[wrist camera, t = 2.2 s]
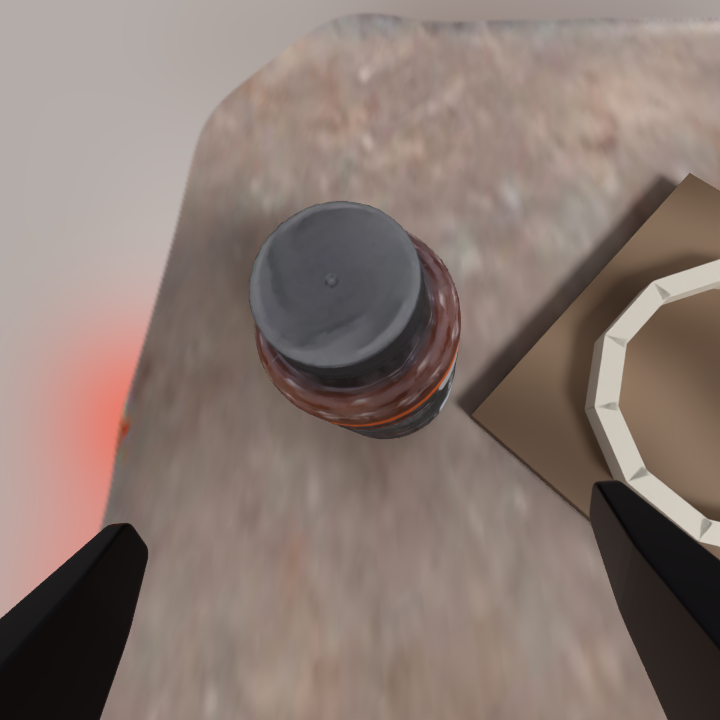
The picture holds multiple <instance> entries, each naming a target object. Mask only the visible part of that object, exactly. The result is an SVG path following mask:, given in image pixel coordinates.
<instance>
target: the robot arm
mask: <svg viewBox="0 0 720 720" xmlns="http://www.w3.org/2000/svg"><path fill="white" fill-rule="evenodd" d="M589 516H590V521H591V525H592V528H593V531H594V535H595V538H596V541H597V544H598V547H599V550H600V553H601V556H602V559H603V562H604V565H605V569H606V572H607V575H608V578H609V581H610V584H611V587H612V590H613V593H614V596H615V599H616V602H617V605H618V608H619V611H620V613H621V615H622V618H623V620H624V623H625V625H626V627H627V630H628V632H629V634H630V636H631V638H632V641H633V643H634V645H635V647H636V650H637V652H638V654H639V656H640V659H641V661H642V663H643V665H644V668H645V670H646V672H647V674H648V677H649V679H650V681H651V683H652V686H653V688H654V690H655V692H656V694H657V697H658V699H659V701H660V703H661V706H662V708H663V710H664V712H665V715H666V717H667V719H668V720H720V559H718V558H717V557H716V556H714V555H713V554H712V553H711V552H709V551H708V550H707V549H706V548H704V547H703V546H702V545H701V544H699V543H698V542H697V541H696V540H694V539H693V538H692V537H691V536H689V535H688V534H687V533H686V532H684V531H683V530H682V529H681V528H679V527H678V526H677V525H675V524H674V523H673V522H672V521H670V520H669V519H668V518H667V517H665V516H664V515H663V514H662V513H660V512H659V511H658V510H657V509H655V508H654V507H653V506H652V505H650V504H649V503H648V502H647V501H645V500H644V499H643V498H641V497H640V496H639V495H638V494H636V493H635V492H634V491H633V490H631V489H630V488H629V487H628V486H626V485H625V484H624V483H622V482H621V481H618V480H606V481H597V482H595V483H594V484H593V487H592V494H591V502H590V510H589ZM147 560H148V549H147V546H146V544H145V543H144V541H143V540H142V538H141V537H140V536H139V534H138V533H137V531H136V530H135V528H134V527H133V526H132V525H131V524H129V523H119V524H111V525H108V526H107V527H105V528H104V529H103V530H102V531H101V532H99V533H98V534H97V535H96V536H95V537H94V538H93V539H92V540H90V541H89V542H88V543H87V544H86V545H85V546H83V547H82V548H81V549H80V550H79V551H78V552H76V553H75V554H74V555H73V556H72V557H71V558H70V559H68V560H67V561H66V562H65V563H64V564H63V565H62V566H60V567H59V568H58V569H57V570H56V571H55V572H54V573H52V574H51V575H50V576H49V577H48V578H47V579H46V580H44V581H43V582H42V583H41V584H40V585H39V586H37V587H36V588H35V589H34V590H33V591H32V592H31V593H29V594H28V595H27V596H26V597H25V598H24V599H23V600H21V601H20V602H19V603H18V604H17V605H16V606H15V607H13V608H12V609H11V610H10V611H9V612H8V613H6V614H5V616H3V617H2V618H1V619H0V720H100V717H101V714H102V712H103V709H104V706H105V703H106V700H107V697H108V694H109V691H110V689H111V686H112V683H113V680H114V677H115V674H116V671H117V668H118V665H119V663H120V660H121V657H122V654H123V651H124V648H125V645H126V642H127V639H128V636H129V632H130V628H131V625H132V621H133V617H134V613H135V609H136V605H137V601H138V597H139V593H140V589H141V585H142V581H143V576H144V572H145V568H146V564H147Z"/></svg>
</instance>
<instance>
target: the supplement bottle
mask: <svg viewBox="0 0 720 720" xmlns="http://www.w3.org/2000/svg"><path fill="white" fill-rule="evenodd" d="M249 302H250V307H251V312H252V315H253V317H254V320H255V325H254V326H255V338H256V345H257V349H258V353H259V356H260V360H261V362H262V364H263V367H264V369H265V371H266V373H267V374H268V376H269V378H270V379H271V381H272V382H273V384H274V385H275V386H276V387H277V389H278V390H279V391H280V392H281V393H282V394H283V395H284V396H285V397H286V398H287V399H288V400H289V401H290V402H291V403H293V404H294V405H295V406H297V407H298V408H300V409H302V410H303V411H305V412H307V413H309V414H312V415H314V416H316V417H319V418H321V419H324V420H326V421H329V422H331V423H333V424H336V425H339V426H340V427H344V428H346V429H349V430H351V431H354V432H357V433H359V434H362V435H364V436H367V437H371V438H376V439H392V438H400V437H404V436H407V435H410V434H412V433H414V432H416V431H418V430H420V429H422V428H424V427H425V426H426V425H428V424H429V423H430V422H431V421H432V420H433V419H434V418H435V417H436V416H437V415H438V414H439V412H440V411H441V409H442V408H443V406H444V405H445V403H446V401H447V399H448V397H449V394H450V391H451V388H452V383H453V378H454V373H455V365H456V360H457V354H458V346H459V340H460V330H461V314H460V305H459V298H458V295H457V291H456V288H455V284H454V282H453V281H452V278H451V276H450V274H449V272H448V269H447V268H446V266H445V265H444V264H443V261H442V260H441V259H440V258H439V257H438V256H437V255H436V254H435V253H434V252H433V251H432V250H431V249H430V248H429V247H428V246H427V245H426V244H425V243H423V242H422V241H421V240H420V239H418V238H417V237H415V236H414V235H412V234H410V233H408V232H407V231H405V230H404V229H403V228H402V227H401V226H400V225H399V224H398V223H397V222H396V221H395V220H394V219H392V218H391V217H390V216H388V215H387V214H385V213H384V212H382V211H381V210H379V209H376V208H374V207H371V206H369V205H365V204H360V203H354V202H347V201H336V202H327V203H323V204H317V205H313V206H311V207H309V208H306V209H304V210H302V211H300V212H299V213H297V214H295V215H294V216H292V217H290V218H289V219H288V220H287V221H285V222H283V223H281V224H280V225H279V226H278V227H277V229H276V230H275V231H274V232H273V233H272V234H271V235H270V236H269V237H268V238H267V240H266V241H265V242H264V244H263V245H262V246H261V249H260V251H259V253H258V255H257V257H256V259H255V261H254V264H253V268H252V272H251V275H250V280H249Z"/></svg>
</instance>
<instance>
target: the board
mask: <svg viewBox="0 0 720 720" xmlns="http://www.w3.org/2000/svg"><path fill="white" fill-rule="evenodd" d="M719 259H720V191H719V190H717V189H716V188H714V187H712V186H711V185H709V184H707V183H706V182H704V181H702V180H701V179H699V178H697V177H696V176H694V175H692V174H691V173H689V174H688V175H687V177H686V178H685V179H684V180H683V181H682V182H681V183H680V184H679V185H678V187H677V188H676V189H675V190H674V191H673V192H672V193H671V194H670V195H669V196H668V198H667V199H666V200H665V201H664V202H663V203H662V204H661V205H660V206H659V208H658V209H657V210H656V211H655V212H654V213H653V214H652V215H651V216H650V218H649V219H648V220H647V221H646V222H645V223H644V224H643V225H642V226H641V228H640V229H639V230H638V231H637V232H636V233H635V234H634V235H633V236H632V238H631V239H630V240H629V241H628V242H627V243H626V244H625V245H624V246H623V248H622V249H621V250H620V251H619V252H618V253H617V254H616V255H615V256H614V257H613V259H612V260H611V261H610V262H609V263H608V264H607V265H606V266H605V267H604V269H603V270H602V271H601V272H600V273H599V274H598V275H597V276H596V277H595V279H594V280H593V281H592V282H591V283H590V284H589V285H588V286H587V287H586V289H585V290H584V291H583V292H582V293H581V294H580V295H579V296H578V297H577V299H576V300H575V301H574V302H573V303H572V304H571V305H570V306H569V307H568V309H567V310H566V311H565V312H564V313H563V314H562V315H561V316H560V317H559V318H558V320H557V321H556V322H555V323H554V324H553V325H552V326H551V327H550V328H549V330H548V331H547V332H546V333H545V334H544V335H543V336H542V337H541V338H540V340H539V341H538V342H537V343H536V344H535V345H534V346H533V347H532V348H531V350H530V351H529V352H528V353H527V354H526V355H525V356H524V357H523V358H522V360H521V361H520V362H519V363H518V364H517V365H516V366H515V367H514V368H513V370H512V371H511V372H510V373H509V374H508V375H507V376H506V377H505V378H504V379H503V381H502V382H501V383H500V384H499V385H498V386H497V387H496V388H495V389H494V391H493V392H492V393H491V394H490V395H489V396H488V397H487V398H486V399H485V401H484V402H483V403H482V404H481V405H480V406H479V407H478V408H477V409H476V411H475V412H474V413H473V414H472V415H471V416H470V418H471V419H473V420H474V421H475V422H476V423H477V424H478V425H479V426H481V427H482V428H483V429H484V430H485V431H486V432H487V433H489V434H490V435H491V436H492V437H493V438H494V439H496V440H497V441H498V442H499V443H500V444H501V445H502V446H504V447H505V448H506V449H507V450H508V451H509V452H510V453H512V454H513V455H514V456H515V457H516V458H517V459H519V460H520V461H521V462H522V463H523V464H524V465H525V466H527V467H528V468H529V469H530V470H531V471H532V472H533V473H535V474H536V475H537V476H538V477H539V478H540V479H541V480H543V481H544V482H545V483H546V484H547V485H548V486H550V487H551V488H552V489H553V490H554V491H555V492H556V493H558V494H559V495H560V496H561V497H562V498H563V499H564V500H566V501H567V502H568V503H569V504H570V505H571V506H572V507H574V508H575V509H576V510H577V511H578V512H579V513H581V514H582V515H583V516H584V517H585V518H586V519H587V520H589V521H590V516H589V510H590V502H591V494H592V487H593V484H594V483H595V482H597V481H606V480H614V479H613V476H612V474H611V471H610V469H609V467H608V464H607V462H606V460H605V457H604V455H603V453H602V450H601V448H600V445H599V443H598V441H597V438H596V436H595V434H594V431H593V429H592V427H591V424H590V422H589V419H588V417H587V415H586V412H585V404H586V397H587V390H588V384H589V377H590V370H591V364H592V357H593V350H594V343H595V341H596V340H597V339H598V338H599V337H600V336H601V335H602V334H603V333H604V331H605V330H606V329H607V328H608V327H609V326H610V325H611V324H612V322H613V321H614V320H615V319H616V318H617V317H618V316H619V315H620V313H621V312H622V311H623V310H624V309H625V308H626V307H627V306H628V305H629V303H630V302H631V301H632V300H633V299H634V298H635V297H636V296H637V294H638V293H639V292H640V291H642V290H643V289H644V288H645V287H646V286H648V285H649V284H650V283H651V282H653V281H655V280H658V279H661V278H664V277H667V276H670V275H673V274H676V273H679V272H682V271H685V270H689V269H692V268H695V267H698V266H701V265H704V264H707V263H710V262H713V261H716V260H719ZM618 406H619V409H620V411H621V413H622V415H623V418H624V420H625V422H626V425H627V427H628V429H629V431H630V434H631V436H632V438H633V440H634V443H635V445H636V447H637V449H638V452H639V454H640V456H641V458H642V461H643V463H644V465H645V467H646V470H647V471H649V472H650V473H651V474H652V475H654V476H655V477H656V478H657V479H659V480H660V481H661V482H662V483H664V484H665V485H666V486H667V487H669V488H670V489H671V490H672V491H673V492H675V493H676V494H677V495H678V496H680V497H681V498H682V499H683V500H685V501H686V502H687V503H688V504H690V505H691V506H692V507H693V508H695V509H696V510H697V511H698V512H700V513H701V514H702V515H703V516H705V517H706V518H707V519H709V520H713V521H717V522H720V289H714V288H713V289H710V290H707V291H704V292H701V293H698V294H695V295H692V296H688V297H685V298H682V299H679V300H676V301H673V302H670V303H667V304H664V305H661V306H660V307H659V308H658V309H657V310H656V312H655V313H654V314H653V315H652V316H651V317H650V318H649V319H648V321H647V322H646V323H645V324H644V325H643V326H642V327H641V328H640V329H639V331H638V332H637V333H636V334H635V335H634V336H633V337H632V338H631V340H630V341H629V342H628V343H627V345H626V352H625V360H624V367H623V374H622V382H621V389H620V396H619V404H618ZM590 522H591V521H590ZM697 542H698V543H699V544H701V545H702V546H703V547H704V548H706V549H707V550H708V551H709V552H711V553H712V554H713V555H714V556H716V557H717V558H718V559H720V547H719V546H715V545H711V544H707V543H703V542H699V541H697Z"/></svg>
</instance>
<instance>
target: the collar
mask: <svg viewBox="0 0 720 720" xmlns="http://www.w3.org/2000/svg"><path fill="white" fill-rule="evenodd" d="M713 288H714V289H720V259H719V260H716V261H713V262H710V263H707V264H704V265H701V266H698V267H695V268H692V269H689V270H685V271H682V272H679V273H676V274H673V275H670V276H667V277H664V278H661V279H658V280H655V281H653V282H651V283H650V284H649V285H648V286H646V287H645V288H644V289H643V290H642V291H640V292H639V293H638V294H637V296H636V297H635V298H634V299H633V300H632V301H631V302H630V303H629V305H628V306H627V307H626V308H625V309H624V310H623V311H622V312H621V313H620V315H619V316H618V317H617V318H616V319H615V320H614V321H613V322H612V324H611V325H610V326H609V327H608V328H607V329H606V330H605V331H604V333H603V334H602V335H601V336H600V337H599V338H598V339H597V340H596V341H595V343H594V350H593V357H592V364H591V370H590V377H589V384H588V390H587V397H586V404H585V412H586V415H587V417H588V419H589V422H590V424H591V427H592V429H593V431H594V434H595V436H596V438H597V441H598V443H599V445H600V448H601V450H602V453H603V455H604V457H605V460H606V462H607V464H608V467H609V469H610V471H611V474H612V476H613V479H614V480H618V481H621V482H622V483H624V484H625V485H626V486H628V487H629V488H630V489H631V490H633V491H634V492H635V493H636V494H638V495H639V496H640V497H641V498H643V499H644V500H645V501H647V502H648V503H649V504H650V505H652V506H653V507H654V508H655V509H657V510H658V511H659V512H660V513H662V514H663V515H664V516H665V517H667V518H668V519H669V520H670V521H672V522H673V523H674V524H675V525H677V526H678V527H679V528H681V529H682V530H683V531H684V532H686V533H687V534H688V535H689V536H691V537H692V538H693V539H694V540H696V541H699V542H703V543H707V544H711V545H715V546H719V547H720V522H717V521H713V520H709V519H707V518H706V517H705V516H703V515H702V514H701V513H700V512H698V511H697V510H696V509H695V508H693V507H692V506H691V505H690V504H688V503H687V502H686V501H685V500H683V499H682V498H681V497H680V496H678V495H677V494H676V493H675V492H673V491H672V490H671V489H670V488H669V487H667V486H666V485H665V484H664V483H662V482H661V481H660V480H659V479H657V478H656V477H655V476H654V475H652V474H651V473H650V472H649V471H647V470H646V467H645V465H644V463H643V461H642V458H641V456H640V454H639V452H638V449H637V447H636V445H635V443H634V440H633V438H632V436H631V434H630V431H629V429H628V427H627V425H626V422H625V420H624V418H623V415H622V413H621V411H620V409H619V406H618V404H619V396H620V389H621V382H622V374H623V367H624V360H625V352H626V345H627V343H628V342H629V341H630V340H631V338H632V337H633V336H634V335H635V334H636V333H637V332H638V331H639V329H640V328H641V327H642V326H643V325H644V324H645V323H646V322H647V321H648V319H649V318H650V317H651V316H652V315H653V314H654V313H655V312H656V310H657V309H658V308H659V307H660V306H661V305H664V304H667V303H670V302H673V301H676V300H679V299H682V298H685V297H688V296H692V295H695V294H698V293H701V292H704V291H707V290H710V289H713Z"/></svg>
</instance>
